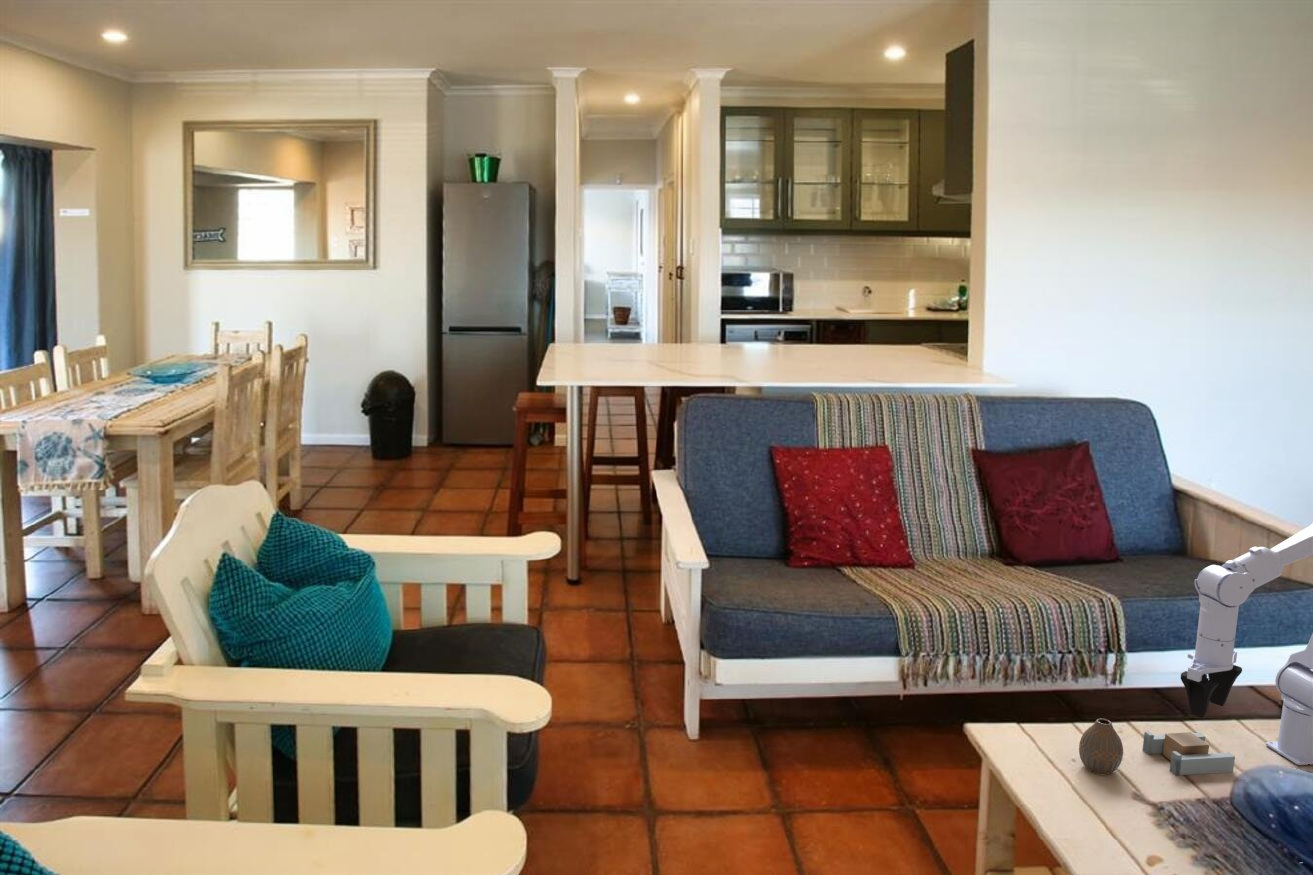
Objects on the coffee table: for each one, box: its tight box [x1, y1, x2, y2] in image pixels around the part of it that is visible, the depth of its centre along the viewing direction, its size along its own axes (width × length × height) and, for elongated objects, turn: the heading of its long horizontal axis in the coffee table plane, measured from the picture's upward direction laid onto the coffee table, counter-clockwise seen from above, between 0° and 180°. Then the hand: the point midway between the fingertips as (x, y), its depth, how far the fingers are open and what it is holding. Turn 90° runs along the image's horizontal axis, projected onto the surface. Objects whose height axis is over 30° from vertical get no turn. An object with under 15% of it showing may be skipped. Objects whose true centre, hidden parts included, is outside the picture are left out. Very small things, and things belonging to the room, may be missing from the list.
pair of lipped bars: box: [1142, 730, 1236, 776], centre depth 178 cm, size 11×9×4 cm
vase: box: [1078, 718, 1124, 776], centre depth 174 cm, size 7×7×9 cm
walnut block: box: [1162, 732, 1210, 761], centre depth 178 cm, size 5×5×4 cm
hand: (1207, 709), depth 177 cm, fingers open, 7 cm apart
